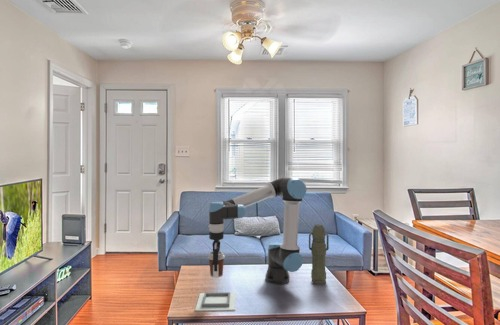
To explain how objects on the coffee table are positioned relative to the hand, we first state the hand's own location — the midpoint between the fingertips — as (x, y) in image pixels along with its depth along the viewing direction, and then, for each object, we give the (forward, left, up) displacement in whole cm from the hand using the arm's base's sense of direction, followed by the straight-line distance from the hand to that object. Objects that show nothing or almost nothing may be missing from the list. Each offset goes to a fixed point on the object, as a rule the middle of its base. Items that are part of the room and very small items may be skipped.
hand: (216, 273), depth 168 cm
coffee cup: (0, 0, -1) cm, 1 cm away
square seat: (0, 0, -15) cm, 15 cm away
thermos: (-61, -25, -15) cm, 68 cm away
